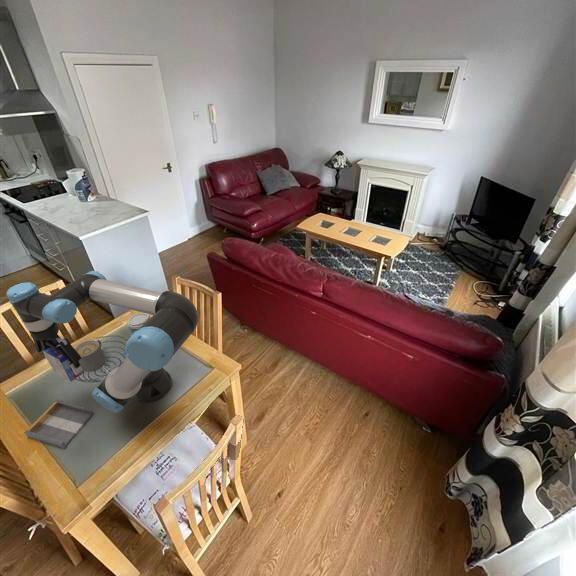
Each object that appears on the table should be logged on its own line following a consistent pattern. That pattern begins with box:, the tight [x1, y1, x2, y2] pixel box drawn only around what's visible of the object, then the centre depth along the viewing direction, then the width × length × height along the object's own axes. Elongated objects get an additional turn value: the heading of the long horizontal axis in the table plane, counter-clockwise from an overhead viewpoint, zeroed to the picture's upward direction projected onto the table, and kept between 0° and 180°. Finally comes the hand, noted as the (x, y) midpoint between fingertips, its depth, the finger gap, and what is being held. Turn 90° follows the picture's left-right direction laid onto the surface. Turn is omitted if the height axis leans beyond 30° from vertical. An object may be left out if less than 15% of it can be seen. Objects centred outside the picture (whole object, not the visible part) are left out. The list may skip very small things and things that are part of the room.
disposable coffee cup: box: [126, 312, 152, 334], centre depth 147 cm, size 11×11×15 cm
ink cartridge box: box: [42, 344, 85, 383], centre depth 112 cm, size 10×6×14 cm, turn 65°
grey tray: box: [23, 399, 95, 449], centre depth 114 cm, size 16×14×3 cm
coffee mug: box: [73, 338, 107, 373], centre depth 138 cm, size 13×10×10 cm
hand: (67, 368), depth 114 cm, fingers closed on ink cartridge box, 10 cm apart
